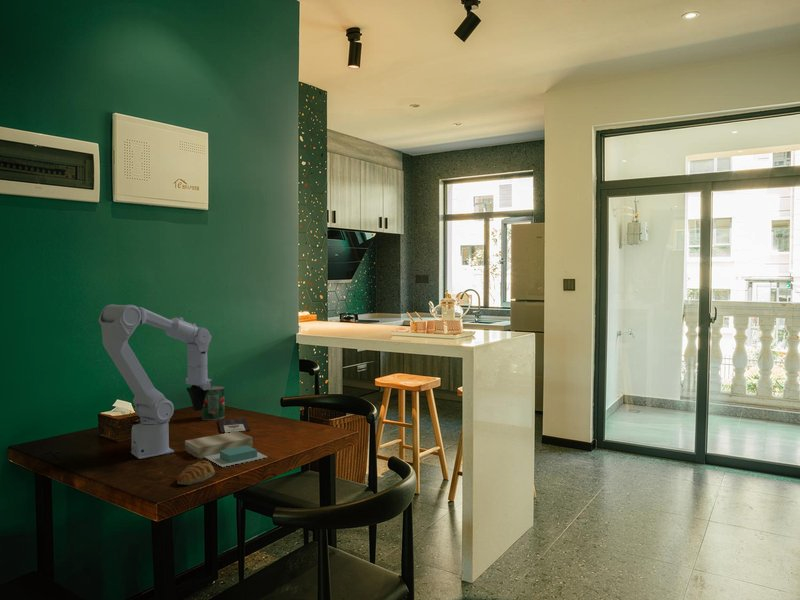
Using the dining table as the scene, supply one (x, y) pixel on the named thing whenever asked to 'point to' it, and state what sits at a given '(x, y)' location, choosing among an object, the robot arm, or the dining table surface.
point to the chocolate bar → (233, 425)
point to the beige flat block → (217, 443)
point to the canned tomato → (214, 404)
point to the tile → (238, 454)
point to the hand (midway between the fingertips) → (198, 410)
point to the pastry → (196, 473)
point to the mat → (222, 463)
